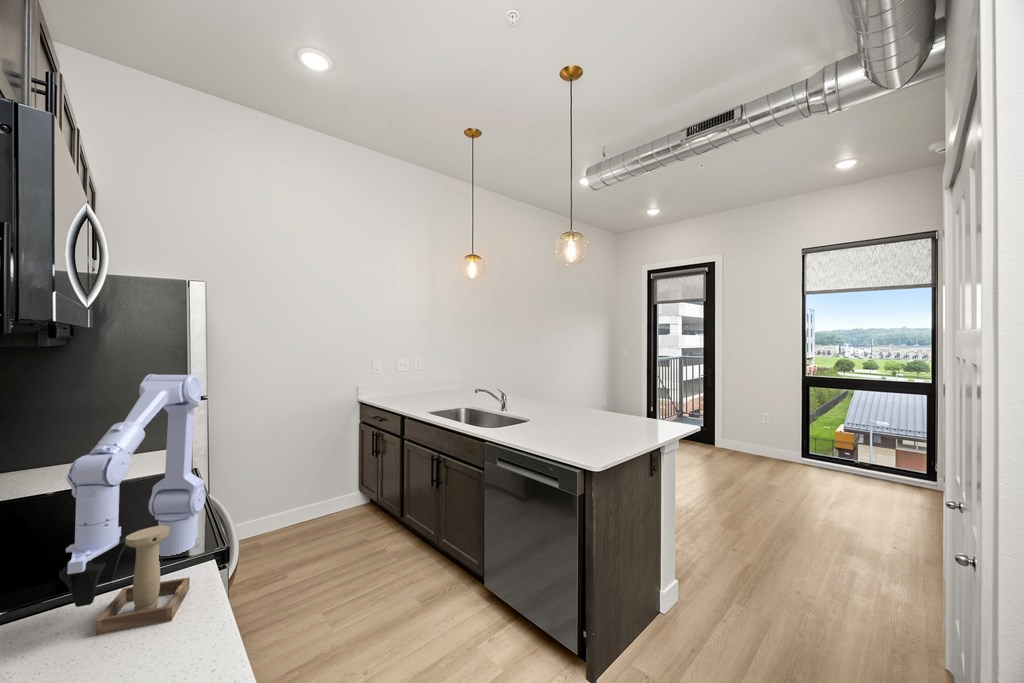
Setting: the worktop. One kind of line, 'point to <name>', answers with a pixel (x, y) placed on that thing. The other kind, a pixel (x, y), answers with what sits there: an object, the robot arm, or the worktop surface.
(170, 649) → the worktop surface
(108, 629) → the collar
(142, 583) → the handle
